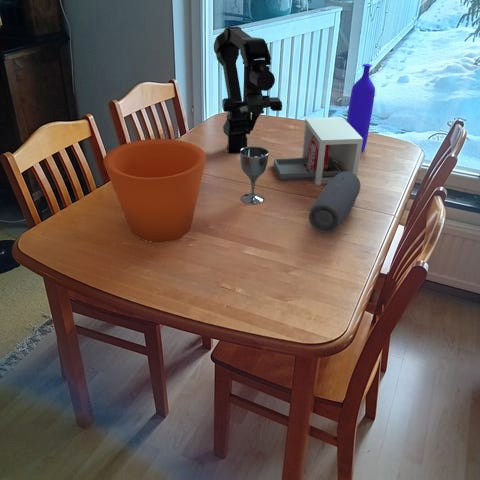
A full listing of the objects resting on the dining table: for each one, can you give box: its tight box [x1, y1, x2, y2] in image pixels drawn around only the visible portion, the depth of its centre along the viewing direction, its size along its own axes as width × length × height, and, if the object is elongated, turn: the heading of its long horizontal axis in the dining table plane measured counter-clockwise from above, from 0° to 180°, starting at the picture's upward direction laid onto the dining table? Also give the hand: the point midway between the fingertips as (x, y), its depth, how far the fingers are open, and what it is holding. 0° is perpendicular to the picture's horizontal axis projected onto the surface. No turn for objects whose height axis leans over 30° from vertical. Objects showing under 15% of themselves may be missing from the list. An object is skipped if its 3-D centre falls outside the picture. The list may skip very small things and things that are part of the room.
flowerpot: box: [102, 138, 207, 243], centre depth 123 cm, size 25×25×20 cm
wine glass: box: [239, 145, 269, 205], centre depth 138 cm, size 8×8×15 cm
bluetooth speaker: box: [308, 171, 361, 234], centre depth 132 cm, size 23×9×10 cm, turn 155°
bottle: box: [346, 63, 376, 152], centre depth 170 cm, size 8×8×30 cm
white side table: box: [301, 116, 363, 186], centre depth 156 cm, size 13×20×15 cm, turn 8°
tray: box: [273, 157, 343, 182], centre depth 158 cm, size 20×12×2 cm, turn 97°
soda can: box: [306, 136, 330, 172], centre depth 156 cm, size 7×7×12 cm
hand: (251, 130), depth 157 cm, fingers closed
